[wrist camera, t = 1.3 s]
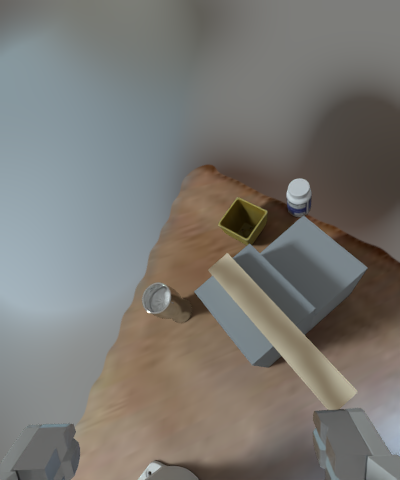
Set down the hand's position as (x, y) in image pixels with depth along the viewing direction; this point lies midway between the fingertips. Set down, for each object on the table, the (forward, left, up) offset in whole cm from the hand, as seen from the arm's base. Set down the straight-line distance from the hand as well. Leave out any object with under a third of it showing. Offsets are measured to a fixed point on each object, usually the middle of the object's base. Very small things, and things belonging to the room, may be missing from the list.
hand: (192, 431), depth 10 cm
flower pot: (+18, +31, -60) cm, 70 cm away
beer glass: (-8, +27, -60) cm, 66 cm away
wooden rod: (+6, +6, -34) cm, 35 cm away
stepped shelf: (+12, +11, -60) cm, 62 cm away
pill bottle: (+32, +27, -60) cm, 73 cm away
